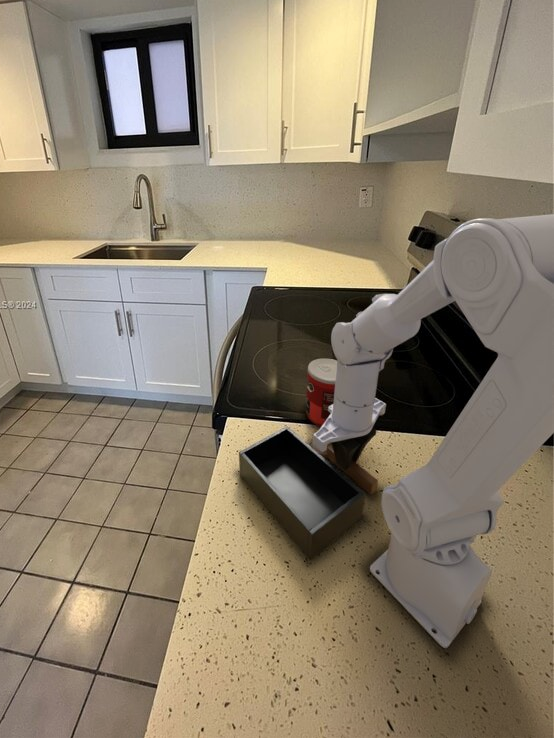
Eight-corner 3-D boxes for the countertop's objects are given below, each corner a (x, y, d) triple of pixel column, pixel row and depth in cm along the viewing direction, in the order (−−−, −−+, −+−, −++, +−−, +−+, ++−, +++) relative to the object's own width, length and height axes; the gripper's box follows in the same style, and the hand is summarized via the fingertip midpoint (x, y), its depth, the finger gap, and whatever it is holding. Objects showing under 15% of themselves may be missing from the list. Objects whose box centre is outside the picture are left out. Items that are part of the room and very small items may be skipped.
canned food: (315, 398, 76) (318, 353, 71) (352, 413, 71) (357, 366, 66) (297, 417, 70) (300, 371, 66) (336, 435, 65) (341, 386, 61)
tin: (361, 518, 51) (365, 493, 49) (310, 560, 46) (312, 534, 44) (286, 447, 63) (287, 425, 61) (239, 474, 58) (238, 452, 56)
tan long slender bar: (381, 486, 55) (383, 476, 54) (365, 499, 53) (367, 489, 52) (322, 438, 65) (323, 429, 64) (306, 447, 63) (307, 438, 62)
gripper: (363, 367, 59) (355, 429, 65) (299, 399, 52) (296, 466, 58) (402, 387, 54) (389, 454, 59) (336, 426, 47) (329, 498, 52)
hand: (346, 462), depth 58 cm, fingers closed on tan long slender bar, 1 cm apart
